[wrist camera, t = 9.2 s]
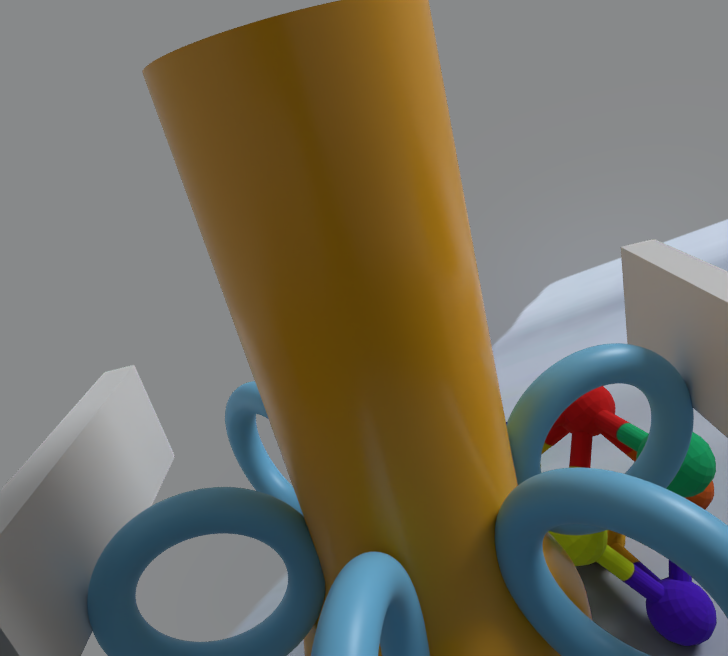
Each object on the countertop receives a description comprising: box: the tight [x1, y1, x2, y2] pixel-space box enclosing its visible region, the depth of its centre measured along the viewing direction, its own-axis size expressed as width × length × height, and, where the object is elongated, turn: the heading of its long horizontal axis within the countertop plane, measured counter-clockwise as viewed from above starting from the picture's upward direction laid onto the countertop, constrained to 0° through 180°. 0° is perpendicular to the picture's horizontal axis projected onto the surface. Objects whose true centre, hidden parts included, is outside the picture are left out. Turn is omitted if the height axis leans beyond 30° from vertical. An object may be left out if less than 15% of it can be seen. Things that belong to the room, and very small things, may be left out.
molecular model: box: [506, 386, 716, 646], centre depth 28 cm, size 12×7×12 cm, turn 58°
